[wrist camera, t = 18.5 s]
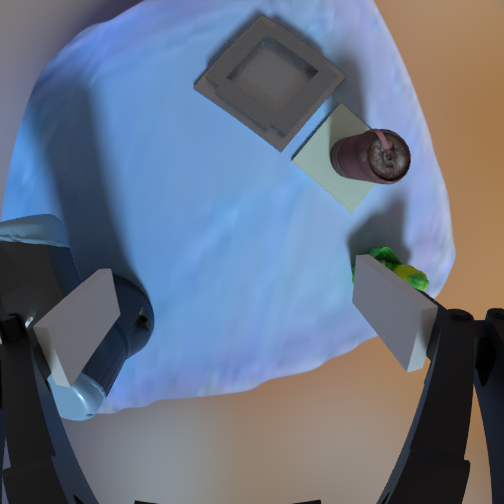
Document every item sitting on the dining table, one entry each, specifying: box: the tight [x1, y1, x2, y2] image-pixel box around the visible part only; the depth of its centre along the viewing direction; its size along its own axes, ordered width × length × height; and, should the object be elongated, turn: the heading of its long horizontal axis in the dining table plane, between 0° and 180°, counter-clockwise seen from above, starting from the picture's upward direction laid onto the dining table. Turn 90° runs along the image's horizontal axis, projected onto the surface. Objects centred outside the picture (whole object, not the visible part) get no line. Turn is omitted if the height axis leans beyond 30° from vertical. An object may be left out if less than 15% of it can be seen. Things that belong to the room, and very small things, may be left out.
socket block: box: [193, 16, 346, 153], centre depth 37 cm, size 16×16×4 cm
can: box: [330, 129, 411, 184], centre depth 34 cm, size 6×6×14 cm
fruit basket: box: [351, 247, 429, 291], centre depth 42 cm, size 11×9×11 cm
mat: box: [291, 103, 376, 213], centre depth 41 cm, size 12×12×1 cm
